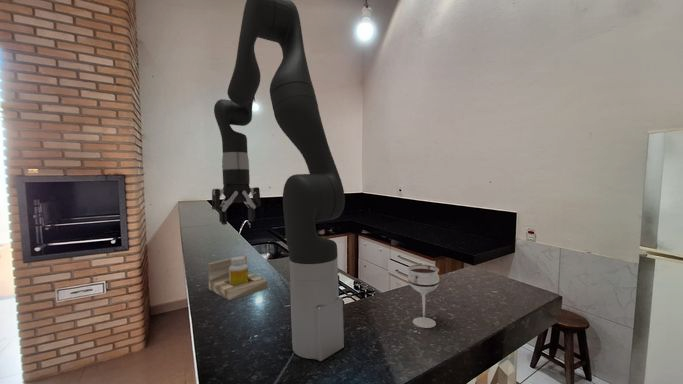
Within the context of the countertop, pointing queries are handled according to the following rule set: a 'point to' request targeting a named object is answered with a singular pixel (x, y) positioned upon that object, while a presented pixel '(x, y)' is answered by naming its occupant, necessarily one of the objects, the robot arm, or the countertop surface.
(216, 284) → the socket stand
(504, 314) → the countertop surface
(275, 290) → the countertop surface
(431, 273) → the wineglass
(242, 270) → the supplement bottle
